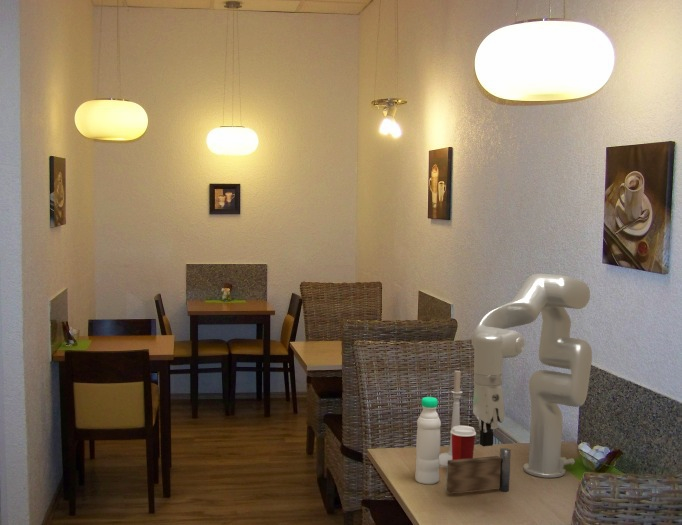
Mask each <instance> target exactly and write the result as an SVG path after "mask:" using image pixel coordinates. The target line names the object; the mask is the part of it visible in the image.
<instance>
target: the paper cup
mask: <svg viewBox="0 0 682 525" xmlns="http://www.w3.org/2000/svg"><path fill="white" fill-rule="evenodd" d="M449 432H450V434H451V433H452V460H458V459H469V458H474V451H475V450H474V449H475V441H476V440H475V439H476V435H477V432H476V429H475V428H474V427H473V426H469V425H460V426H454V427H453V428H452V429H451V428H450V431H449Z"/></svg>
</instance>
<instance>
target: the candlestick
mask: <svg viewBox="0 0 682 525" xmlns="http://www.w3.org/2000/svg"><path fill="white" fill-rule="evenodd" d="M453 375H454V376H453V377H454V378H453V390H451V391H450V392H451V393H452V399H453V403H452V404H453V405H452V413H451V414H452V415H451V416H452V417H451V427H450V430H451V429H452V428H453V427H454V426H461V412H460V410H461V409H460V408H461V406H460V404H461V403H460V399H461V397H462V394H463V391H462V390H461V375H462V371H460V370H454V374H453ZM449 439H450V440H449V448H448V451H447V452H442V453H440V454H439V461H440V464H439V467H441V468H446V469H447V463H448V460H452V433H450V438H449Z"/></svg>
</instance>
